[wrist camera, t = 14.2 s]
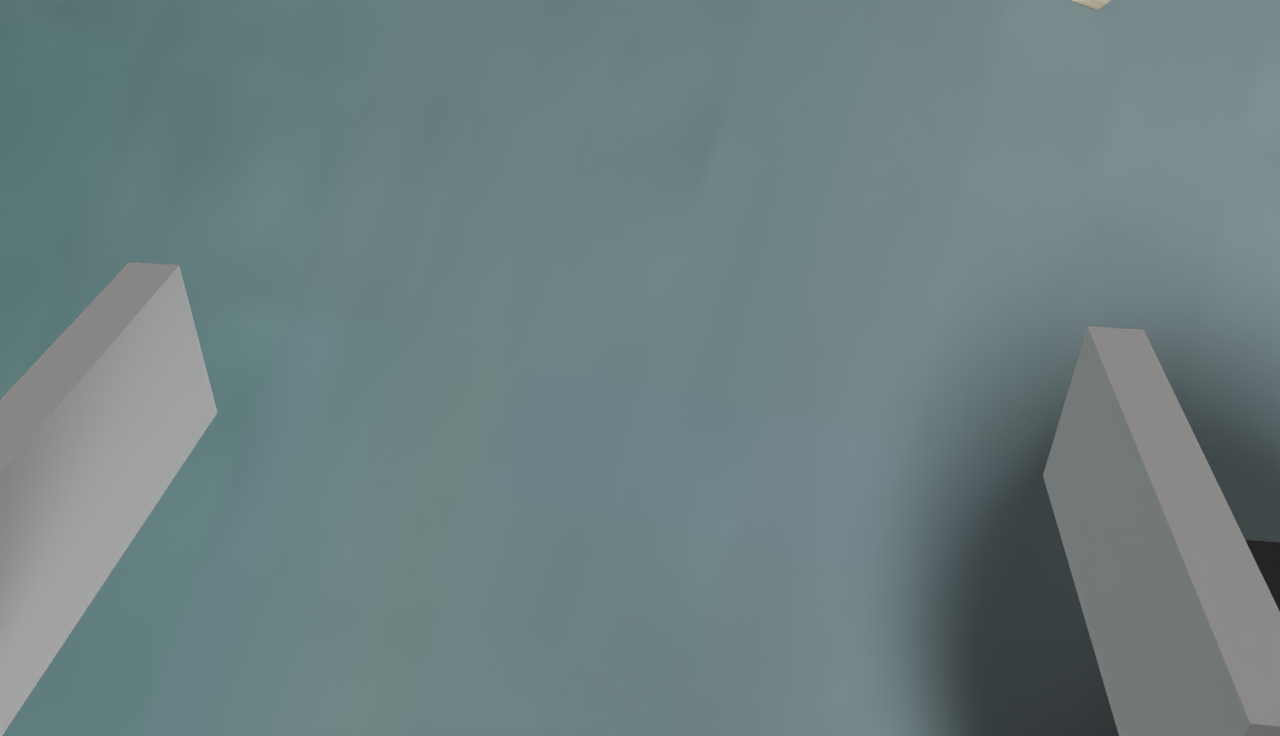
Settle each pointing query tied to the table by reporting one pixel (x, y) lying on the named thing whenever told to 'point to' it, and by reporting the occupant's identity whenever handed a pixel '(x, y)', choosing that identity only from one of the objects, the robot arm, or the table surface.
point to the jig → (1093, 3)
